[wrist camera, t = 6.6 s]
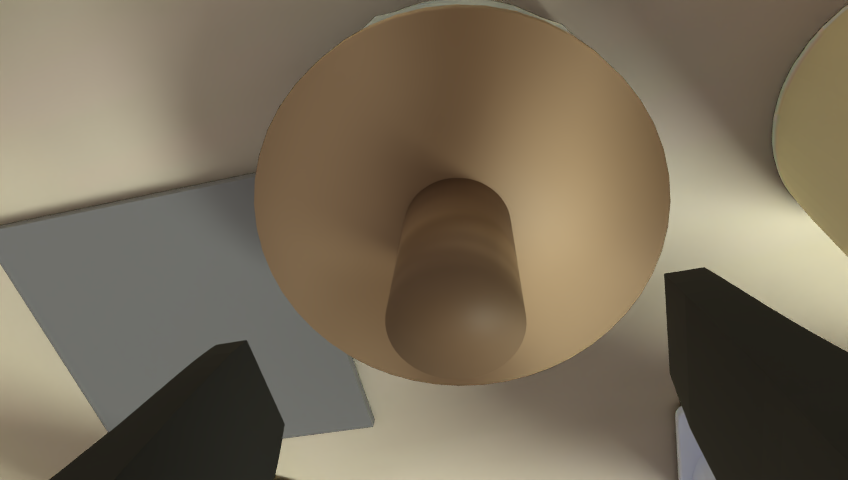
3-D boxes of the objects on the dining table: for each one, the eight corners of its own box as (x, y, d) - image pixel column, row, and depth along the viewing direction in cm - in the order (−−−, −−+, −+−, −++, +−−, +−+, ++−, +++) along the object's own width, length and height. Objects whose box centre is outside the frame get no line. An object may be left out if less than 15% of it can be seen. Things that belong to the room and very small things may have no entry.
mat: (283, 167, 19) (280, 171, 19) (374, 419, 24) (373, 426, 23) (-12, 227, 21) (-20, 233, 20) (129, 451, 26) (124, 459, 25)
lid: (663, -34, 12) (768, -14, 8) (657, 350, 17) (723, 493, 13) (209, 44, 14) (93, 97, 9) (317, 381, 18) (273, 520, 14)
